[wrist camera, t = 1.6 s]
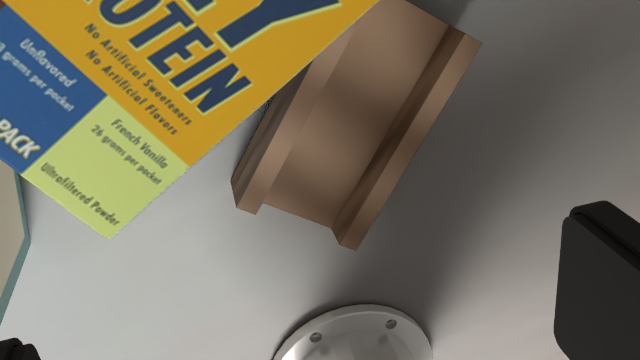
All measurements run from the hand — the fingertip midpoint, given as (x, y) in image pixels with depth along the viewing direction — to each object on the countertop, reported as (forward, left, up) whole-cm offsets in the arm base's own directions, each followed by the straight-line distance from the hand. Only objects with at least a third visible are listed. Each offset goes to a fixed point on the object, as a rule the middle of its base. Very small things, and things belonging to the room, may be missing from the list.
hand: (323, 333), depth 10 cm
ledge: (-1, -8, -25) cm, 26 cm away
